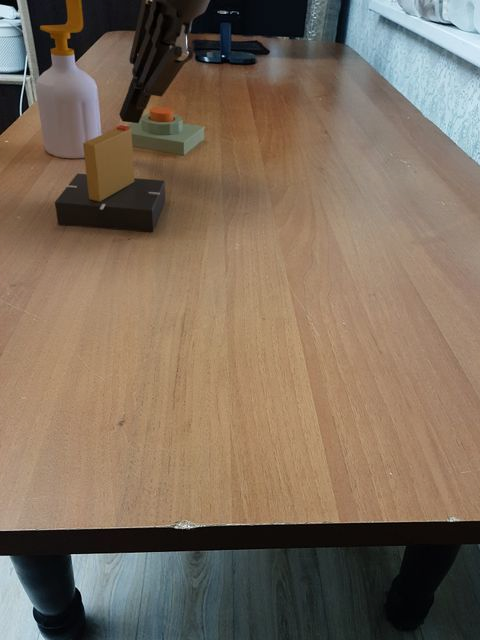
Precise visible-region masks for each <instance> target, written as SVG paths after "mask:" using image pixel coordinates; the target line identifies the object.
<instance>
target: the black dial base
mask: <svg viewBox="0 0 480 640" xmlns="http://www.w3.org/2000/svg"><path fill="white" fill-rule="evenodd" d="M165 203H166V181H165V180H162V179H151V178H149V179H148V178H139V177H134V182H133V183H131V184H130V185H128V186H126V187H125V188H123V189H121V190H119V191H118V192H116V193H114V194H112V195H111V196H109V197H107V198H105V199H104V200H102V201H100V202H98V201H94V200H91V199H89V193H88V184H87V175H86V173H77V174H76V175H75V176H74V177H73V178H72V180H71V181H70V182H69V184H68V185H67V184H66V185H65V189H64V190H63V191H62V193H61V194H60V195H59V196H58V198H57V199H56V200H55V201H54V206H55V213H56V220H57V225H58V226H59V225H60V226H71V227H83V228H84V227H87V228H98V229H109V230H123V231H134V232H148V233H154V230H155V228H156V225H157V224H158V221H159V218H160V216H161V213H162V211H163V208H164V205H165Z"/></svg>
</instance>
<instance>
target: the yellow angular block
mask: <svg viewBox="0 0 480 640" xmlns="http://www.w3.org/2000/svg"><path fill="white" fill-rule="evenodd" d="M127 126H128V125H118V126H115V127H116V128H114V129H112V130H110V131H108V132H105V133H103V134H101V135H100V136H98V137H96V138H93V139H91V140H89V141H86V142H84V143H83V149H84V158H83V159H84V166H85V174H86V175H87V184H88V193H89V199H91V200H94V201H98V202H100V201H102V200H104V199H105V198H107V197H109V196H111V195H112V194H114V193H116V192H118V191H119V190H121V189H123V188H125V187H126V186H128V185H130V184H131V183H133V182H134V178H135V169H134V167H135V165H134V153H133V152H134V151H133V147H132V134H131V129H129V127H127Z"/></svg>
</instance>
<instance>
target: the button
mask: <svg viewBox="0 0 480 640" xmlns="http://www.w3.org/2000/svg"><path fill="white" fill-rule="evenodd" d="M149 113H150V120H152V121H155V122H171V121H174V109H172V108H170V107H166V106H154V107H150V108H149Z"/></svg>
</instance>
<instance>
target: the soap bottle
mask: <svg viewBox="0 0 480 640" xmlns="http://www.w3.org/2000/svg"><path fill="white" fill-rule="evenodd" d="M65 4H66V13H67V21H66V22H65V24H52V25H51V24H49V25H48V24H47V25H46V24H45V25H40V26H39V29H40V31H43V32H46V33H49V34H50V38H51V39H54V43H55V47H52V48H50V56H51V66H50V67H49V68H48V69H47V70H45V71H43V72H42V73H41V74H40V76H38V77H37V79H36V84H35V93H36V101H37V106H38V113H39V119H40V125H41V132H42V139H43V145H44V150H45V151H46V152H47V153H48V154H49V155H52V156H53V157H58V158H60V159H61V158H62V159H71V160H73V159H75V160H76V159H85V158H84V149H83V143H84V142H86V141H89V140H91V139H93V138H96V137H98V136H100V135H102V124H101V115H100V113H101V112H100V103H99V94H98V93H99V92H98V85H97V84H96V81H95V79H93V78H92V77H91V76H90V75H89V74H88V73H87V72H85V71H83V70H82V69H80V68H79V67H77V65H76V59H75V58H76V57H75V50H74V49H73V48H69V47H68V40H69V39H71V34H73V33H75V34H76V33H80V32H81V31H82V30H83V29H84V16H83V7H82V6H83V5H82V0H65Z"/></svg>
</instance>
